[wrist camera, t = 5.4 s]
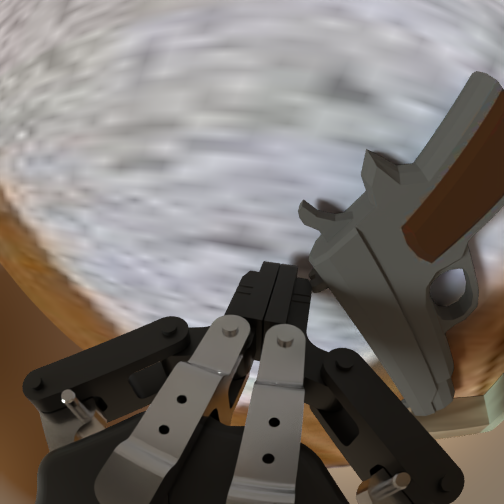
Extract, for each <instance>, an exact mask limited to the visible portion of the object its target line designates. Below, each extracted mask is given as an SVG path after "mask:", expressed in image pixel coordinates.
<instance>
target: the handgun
mask: <svg viewBox="0 0 504 504" xmlns="http://www.w3.org/2000/svg"><path fill="white" fill-rule="evenodd" d="M361 177H362V180H363V183H364V186H365V189H366V191H365V192H364V193H363V194H362V195H361V196H360V197H359V198H358V199H357V200H356V201H355V202H354V203H353V204H352V205H351V206H350V207H349V208H348V209H347V210H346V211H345V212H344V213H339V214H332V213H328V212H324V211H320V210H317V209H316V208H314V207H313V206H312V205H310V204H309V203H307V202H306V201H305V200H303V201H302V202H301V203H300V205H299V210H298V213H299V218H300V219H301V220H302V222H303V223H304V225H307V226H309V227H312V228H314V229H316V230H319V231H320V233H321V235H320V237H319V238H318V239H317V240H316V241H315V244H314V246H313V248H312V250H311V253H310V255H309V262H310V263H311V264H312V266H313V267H314V268H313V269H312V270H311V272H310V274H309V277H310V279H311V280H310V281H309V282H310V284H311V286H312V291H313V292H314V293H317V292H321V291H323V290H325V289H327V288H329V289H330V290H331V292H332V293H333V294H334V296H335V297H336V299H337V300H338V301H339V303H340V304H341V306H342V307H343V308H344V310H345V311H346V313H347V314H348V316H349V317H350V318H351V320H352V321H353V323H354V324H355V326H356V327H357V328H358V330H359V331H360V333H361V334H362V336H363V337H364V339H365V340H366V341H367V343H368V344H369V346H370V347H371V349H372V350H373V352H374V353H375V355H376V356H377V358H378V359H379V361H380V362H381V364H382V365H383V367H384V368H385V370H386V371H387V373H388V374H389V376H390V377H391V379H392V380H393V382H394V383H395V385H396V386H397V388H398V390H399V391H400V393H401V394H402V396H403V397H404V399H403V400H402V401H401V402H402V403H403V404H404V405H405V406H406V408H409V407H410V408H411V410H412V411H413V413H414V415H415V416H427V415H430V414H433V413H435V411H438V410H441V409H443V408H445V407H446V406H447V405H449V404H450V403H451V402H452V401H453V397H454V393H455V390H454V386H453V383H452V379H451V375H452V373H453V370H454V363H453V359H452V355H451V351H450V348H449V345H448V341H447V338H446V335H445V333H446V331H447V330H449V329H450V328H451V327H452V326H454V325H455V324H457V323H459V322H461V321H463V320H465V319H466V318H467V317H468V316H469V315H470V314H471V313H472V312H473V311H474V309H475V308H476V307H477V305H478V296H479V289H478V284H477V279H476V275H475V271H474V266H473V262H472V259H471V255H470V251H469V248H468V244H467V243H468V241H469V239H470V238H472V237H473V236H474V235H475V234H476V233H477V232H478V231H479V230H480V229H481V228H482V227H483V226H484V225H485V224H486V223H487V222H488V221H489V220H490V219H491V218H492V217H493V216H494V215H495V214H496V213H497V212H498V211H499V210H500V209H501V208H502V207H503V206H504V89H503V88H502V86H501V85H500V84H499V82H498V81H497V80H496V79H494V78H493V77H491V76H489V75H488V74H486V73H483V72H478V71H476V72H474V73H472V75H471V76H470V78H469V80H468V81H467V83H466V85H465V86H464V88H463V90H462V91H461V93H460V95H459V96H458V98H457V99H456V101H455V102H454V104H453V106H452V107H451V109H450V110H449V112H448V113H447V115H446V116H445V118H444V119H443V121H442V123H441V124H440V125H439V127H438V128H437V130H436V131H435V133H434V134H433V136H432V137H431V139H430V140H429V142H428V143H427V144H426V146H425V147H424V149H423V150H422V152H421V153H420V154H419V156H418V157H417V159H416V160H415V161H414V163H412V164H404V165H395V164H393V163H391V162H389V161H388V160H386V159H384V158H382V157H380V156H379V155H377V154H375V153H373V152H371V151H369V150H367V149H366V153H365V158H364V162H363V167H362V171H361ZM452 269H463V272H464V275H465V279H466V289H465V293H464V294H463V295H462V297H461V298H460V299H459V301H457V302H455V303H454V304H452V305H450V306H437V305H436V304H435V303H434V302H433V301H432V299H431V297H430V285H431V284H432V283H433V282H434V281H435V280H436V278H437V277H438V276H439V275H441V274H443V273H445V272H446V271H448V270H452Z"/></svg>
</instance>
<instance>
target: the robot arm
mask: <svg viewBox="0 0 504 504" xmlns="http://www.w3.org/2000/svg"><path fill="white" fill-rule="evenodd" d="M297 271H298V266H294V265H287V264H280V263H273V262H266V261H264V262H263V264H262V267H261V269H260V272H256V271H249V272H248V273H247V274H245V275H244V276H243V277H242V279H241V281H240V283H239V286H238V287H237V289H236V292H235V294H234V296H233V298H232V300H231V302H230V304H229V306H228V308H227V310H226V313H225V315H224V316H221V317H219V318H217V319H216V320H215V321H214V322H213V323H212V324H211V326H208V327H195V328H188V324H187V323H186V322H185V321H184V320H183V319H181V318H179V317H174V316H169V317H164V318H161V319H159V320H157V321H154V322H152V323H150V324H147V325H145V326H142V327H140V328H138V329H135V330H133V331H131V332H128V333H126V334H123V335H121V336H119V337H116V338H114V339H111V340H109V341H106V342H104V343H101V344H99V345H97V346H94V347H92V348H89V349H87V350H84V351H82V352H79V353H77V354H74V355H72V356H69V357H67V358H64V359H61V360H59V361H57V362H54V363H51V364H49V365H46V366H43V367H41V368H38V369H36V370H33V371H32V372H30V373H29V374H28V375H27V376H26V378H25V379H24V382H23V392H24V394H25V396H26V397H27V398H28V399H29V400H30V401H31V402H32V404H34V405H35V407H36V408H37V410H38V411H39V412H40V416H41V420H42V425H43V429H44V432H45V436H46V440H47V444H48V447H49V450H50V452H49V453H48V454H47V455H46V456H45V457H44V458H43V460H42V461H41V463H40V466H39V468H38V474H37V497H36V503H35V504H349V502H348V501H347V499H346V498H345V496H344V495H343V493H342V492H341V490H340V488H339V487H338V485H337V484H336V482H335V481H334V479H333V478H332V476H331V475H330V473H329V472H328V470H327V468H326V467H325V465H324V464H323V462H322V461H321V459H320V458H319V457H318V456H317V455H316V453H314V452H313V451H312V450H311V449H310V448H308V447H307V446H306V445H304V444H302V443H300V441H301V431H302V420H303V408H304V403H306V404H309V405H310V409H311V411H312V412H313V414H314V415H315V417H316V418H317V419H318V421H319V422H320V424H321V425H322V427H323V428H324V429H325V431H326V432H327V434H328V435H329V436H330V438H331V439H332V441H333V442H334V443H335V445H336V446H337V448H338V449H339V450H340V452H341V453H342V454H343V456H344V457H345V459H346V460H347V461H348V463H349V464H350V465H351V467H352V468H353V469H354V471H355V472H356V473H357V475H358V476H359V477H360V479H361V480H362V481H363V482H362V483H361V484H360V486H359V487H358V489H357V492H356V499H357V502H358V504H450V503H452V502H453V501H454V500H456V499H457V498H458V497H459V495H460V494H461V492H462V490H463V487H464V475H463V473H462V471H461V469H460V468H459V467H458V466H457V465H456V463H455V462H454V461H453V460H452V459H451V458H450V456H449V455H448V454H447V453H446V452H445V451H444V450H443V448H442V447H441V446H440V445H439V444H438V443H437V442H436V440H435V439H434V438H433V437H432V436H431V435H430V434H429V432H428V431H427V430H426V429H425V428H424V427H423V426H422V424H421V423H420V422H419V421H418V420H417V419H416V418H415V417H414V415H413V414H412V413H411V412H410V411H409V410H408V409H407V408H406V406H405V405H404V404H403V403H402V402H401V401H400V400H399V399H398V397H397V396H396V395H395V394H394V393H393V392H392V391H391V390H390V388H389V387H388V386H387V385H386V384H385V383H384V382H383V381H382V379H381V378H380V377H379V376H378V375H377V374H376V373H375V372H374V371H373V369H372V368H371V367H370V366H369V365H368V364H367V363H366V362H365V361H364V359H363V358H362V357H361V356H360V355H359V354H358V353H356V352H355V351H353V350H351V349H347V348H337V349H333V350H331V351H330V352H327V351H324V350H322V349H320V348H318V347H316V346H315V345H313V344H312V343H311V342H310V340H309V339H308V337H307V333H306V330H307V323H308V315H309V308H310V300H311V292H312V286H311V284H310V282H309V280H308V279H303V278H297ZM254 360H257V361H260V365H259V370H258V375H257V380H256V381H255V383H254V387H253V391H252V396H251V401H250V405H249V410H248V415H247V419H246V424H245V426H230V424H231V419H232V415H233V412H234V410H235V407H236V405H237V403H238V401H239V398H240V396H241V394H242V392H243V389H244V387H245V385H246V382H247V380H248V378H249V375H250V370H251V367H252V364H253V361H254ZM159 361H160V362H159ZM150 365H151V366H150ZM148 366H149V367H148ZM141 369H142V370H141ZM139 370H140V371H139ZM149 404H151V405H150V406H149V408H148V409H147V411H144V412H141V413H139V414H136V415H134V416H132V417H130V418H128V419H126V420H124V421H121V422H119V423H117V424H115V425H113V426H110V427H108V428H106V426H107V423H108V422H110V421H112V420H115V419H117V418H119V417H122V416H124V415H127V414H129V413H131V412H133V411H136V410H138V409H140V408H143V407H145V406H147V405H149Z"/></svg>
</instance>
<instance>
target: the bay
mask: <svg viewBox="0 0 504 504" xmlns="http://www.w3.org/2000/svg"><path fill="white" fill-rule="evenodd" d="M407 409H408V410H409V411H410V412H411V413H412V414H413V415H414V413H413V411H412V410H411V408H410V407H409V408H407ZM414 417H415V418H416V419H417V420H418V421H419V422H420V423H421V424H422V426H423V427H424V428H425V429H426V430H427V431H428V432H429V434H430V435H431V436H432V437H433V438H434V439H443V438H451V437H459V436H465V435H472V434H477V433H483V432H488V431H492V430H493V429H494V428H495V427H496V426H497V425H498V424H500V423H501V422H502V421H503V420H504V373H503V374H502V376H501V377H500V378H499V379H498V380H497V381H496V383H495V384H494V385H493V386H492V387H491V388H490V389H489V390H488V391H487V393H486V394H485V395H484V396H475V397H464V398H453V401H452V402H451V403H450V404H449V405H447V406H446V407H445V408H443V409H441V410H438V411H435V413H433V414H430V415H427V416H415V415H414Z"/></svg>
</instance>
